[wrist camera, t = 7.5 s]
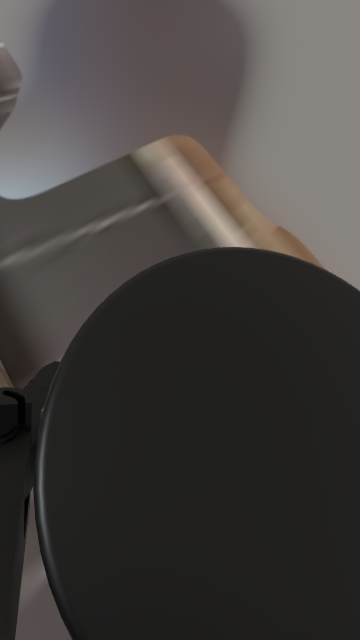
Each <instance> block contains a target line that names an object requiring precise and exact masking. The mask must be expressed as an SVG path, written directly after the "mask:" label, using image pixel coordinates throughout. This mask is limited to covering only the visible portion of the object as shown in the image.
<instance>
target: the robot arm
mask: <svg viewBox="0 0 360 640" xmlns="http://www.w3.org/2000/svg"><path fill="white" fill-rule="evenodd" d="M59 364H60V362H57V361H55V362H53V363H51V364H49V365H47V366H45V367H43V368H42V369H41V370H40V371H39V372H38V373H37V375H36V376H35V378H33V379H32V380H31V381H30V382H29V384H28V386H26V387H25V388H24V389H23V390H21V389H18V388H11V387H2V388H0V640H15V633H16V624H17V615H18V606H19V597H20V588H21V579H22V570H23V561H24V552H25V543H26V534H27V525H28V516H29V507H30V491H31V489H32V488H33V486H34V460H35V452H36V444H37V436H38V430H39V426H40V421H41V417H42V412H43V407H44V404H45V401H46V398H47V395H48V392H49V389H50V386H51V383H52V380H53V378H54V376H55V373H56V371H57V369H58V366H59Z"/></svg>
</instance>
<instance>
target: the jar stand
mask: <svg viewBox="0 0 360 640" xmlns="http://www.w3.org/2000/svg"><path fill="white" fill-rule="evenodd" d="M2 387H11V388H14V386H13V384H12V382H11V380H10V378H9V376H8V374H7V372H6V370H5V368H4V366H3V364H2V362H1V360H0V388H2Z"/></svg>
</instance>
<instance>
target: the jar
mask: <svg viewBox="0 0 360 640" xmlns="http://www.w3.org/2000/svg"><path fill="white" fill-rule="evenodd" d="M34 505H35V520H36V527H37V533H38V539H39V545H40V552H41V556H42V560H43V563H44V567H45V571H46V575H47V579H48V582H49V586H50V589H51V591H52V594H53V597H54V599H55V602H56V605H57V607H58V610H59V612H60V615H61V618H62V620H63V622H64V624H65V626H66V628H67V630H68V632H69V634H70V636H71V638H72V640H360V291H359V290H358V289H357V288H355V287H353V286H352V285H350V284H349V283H347V282H346V281H344V280H343V279H341V278H339V277H338V276H336V275H334V274H332V273H330V272H329V271H327V270H325V269H323V268H320V267H318V266H316V265H314V264H312V263H309V262H307V261H304V260H301V259H299V258H296V257H292V256H289V255H286V254H282V253H278V252H273V251H269V250H263V249H255V248H243V247H223V248H212V249H204V250H199V251H194V252H190V253H185V254H182V255H179V256H176V257H173V258H170V259H167V260H165V261H162V262H160V263H158V264H155V265H153V266H151V267H150V268H148V269H146V270H144V271H142V272H140V273H139V274H137V275H136V276H134V277H133V278H131V279H130V280H128V281H127V282H125V283H124V284H123V285H121V286H120V287H119V288H118V289H116V290H115V291H114V292H113V293H112V294H110V295H109V296H108V297H107V298H106V299H105V300H104V301H103V302H102V303H101V304H100V305H99V306H98V307H97V308H96V309H95V311H94V312H93V313H92V314H91V315H90V317H89V318H88V319H87V320H86V321H85V323H84V324H83V325H82V327H81V328H80V330H79V331H78V333H77V334H76V336H75V337H74V339H73V340H72V341H71V343H70V345H69V347H68V349H67V351H66V352H65V354H64V356H63V358H62V360H61V362H60V364H59V366H58V369H57V371H56V373H55V376H54V378H53V380H52V383H51V386H50V389H49V392H48V395H47V398H46V401H45V404H44V407H43V412H42V417H41V421H40V426H39V430H38V436H37V444H36V452H35V460H34Z"/></svg>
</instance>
